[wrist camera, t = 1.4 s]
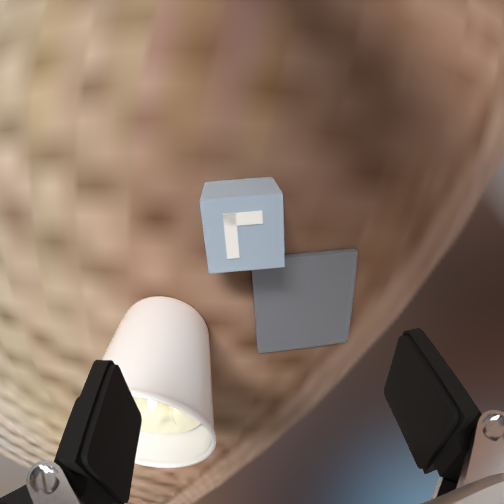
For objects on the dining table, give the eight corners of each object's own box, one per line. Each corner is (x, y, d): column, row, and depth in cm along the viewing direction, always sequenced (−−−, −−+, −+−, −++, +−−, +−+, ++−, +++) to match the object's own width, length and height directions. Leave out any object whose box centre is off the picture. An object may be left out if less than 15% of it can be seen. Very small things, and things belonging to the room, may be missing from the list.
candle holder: (136, 370, 31) (113, 465, 20) (101, 294, 27) (51, 392, 16) (225, 362, 31) (228, 466, 20) (204, 280, 27) (195, 389, 16)
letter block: (205, 181, 24) (199, 200, 19) (271, 176, 24) (283, 193, 19) (212, 245, 26) (209, 276, 21) (274, 239, 26) (284, 269, 21)
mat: (250, 257, 26) (251, 260, 26) (355, 248, 27) (358, 251, 26) (257, 349, 31) (257, 353, 30) (345, 337, 31) (347, 341, 30)
